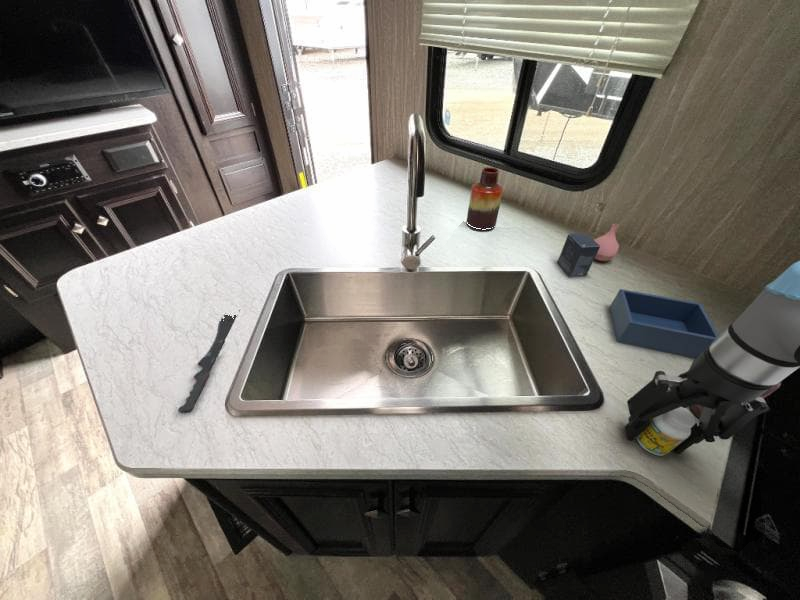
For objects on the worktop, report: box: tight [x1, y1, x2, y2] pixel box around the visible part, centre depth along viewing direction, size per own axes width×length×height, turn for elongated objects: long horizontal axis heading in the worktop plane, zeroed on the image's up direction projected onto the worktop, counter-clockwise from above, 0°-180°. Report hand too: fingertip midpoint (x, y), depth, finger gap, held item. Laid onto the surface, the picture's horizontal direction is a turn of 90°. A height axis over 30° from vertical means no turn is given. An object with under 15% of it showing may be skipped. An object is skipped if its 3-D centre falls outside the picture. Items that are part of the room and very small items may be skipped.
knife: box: [177, 309, 241, 413], centre depth 74 cm, size 32×4×1 cm, turn 2°
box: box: [557, 232, 600, 278], centre depth 95 cm, size 8×6×11 cm
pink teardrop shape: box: [593, 223, 620, 262], centre depth 99 cm, size 8×8×12 cm
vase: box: [465, 166, 504, 233], centre depth 113 cm, size 11×11×20 cm
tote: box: [608, 288, 720, 359], centre depth 76 cm, size 18×13×7 cm
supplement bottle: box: [635, 407, 697, 456], centre depth 55 cm, size 5×5×10 cm
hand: (651, 439), depth 58 cm, fingers open, 7 cm apart
